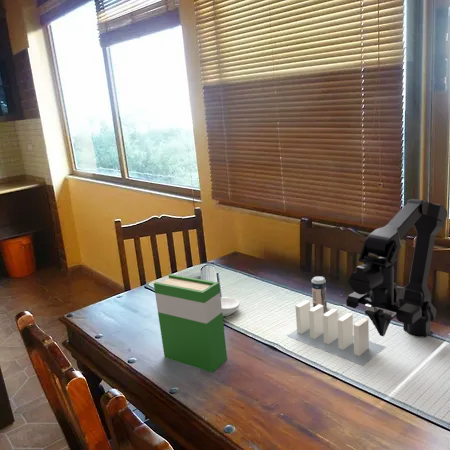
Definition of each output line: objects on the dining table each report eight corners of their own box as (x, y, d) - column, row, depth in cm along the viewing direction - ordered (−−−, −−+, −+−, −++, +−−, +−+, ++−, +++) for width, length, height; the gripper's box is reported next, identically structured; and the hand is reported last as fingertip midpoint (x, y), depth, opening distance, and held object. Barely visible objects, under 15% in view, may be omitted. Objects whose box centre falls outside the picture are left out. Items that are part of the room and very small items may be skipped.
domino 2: (324, 332, 142) (323, 305, 139) (314, 339, 139) (313, 311, 136) (320, 330, 143) (319, 304, 141) (310, 337, 140) (308, 310, 137)
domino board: (385, 349, 131) (385, 346, 131) (362, 368, 124) (362, 365, 123) (311, 323, 150) (310, 320, 150) (287, 338, 142) (286, 335, 142)
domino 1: (311, 327, 145) (309, 301, 143) (301, 334, 142) (299, 307, 140) (307, 326, 147) (305, 300, 144) (297, 332, 143) (295, 305, 141)
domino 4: (353, 342, 135) (352, 314, 132) (343, 349, 131) (342, 321, 129) (348, 341, 136) (347, 313, 133) (338, 348, 133) (337, 319, 130)
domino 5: (368, 348, 131) (368, 319, 129) (359, 355, 128) (358, 326, 125) (363, 346, 132) (363, 317, 130) (354, 353, 129) (353, 324, 127)
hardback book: (164, 357, 139) (153, 283, 132) (180, 346, 144) (170, 274, 138) (212, 372, 129) (202, 292, 122) (227, 359, 134) (218, 282, 128)
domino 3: (338, 337, 138) (337, 309, 136) (328, 344, 135) (327, 316, 133) (334, 335, 139) (332, 308, 137) (324, 342, 136) (322, 314, 134)
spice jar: (327, 314, 155) (325, 281, 152) (312, 314, 156) (311, 281, 153) (327, 307, 160) (325, 275, 156) (313, 307, 161) (311, 275, 158)
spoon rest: (224, 302, 172) (222, 285, 170) (247, 311, 164) (245, 292, 162) (174, 328, 157) (171, 308, 155) (197, 338, 148) (194, 318, 147)
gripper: (432, 278, 118) (431, 334, 122) (366, 264, 131) (367, 314, 135) (411, 293, 111) (410, 351, 115) (343, 277, 124) (345, 329, 128)
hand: (382, 335), depth 123 cm, fingers closed
